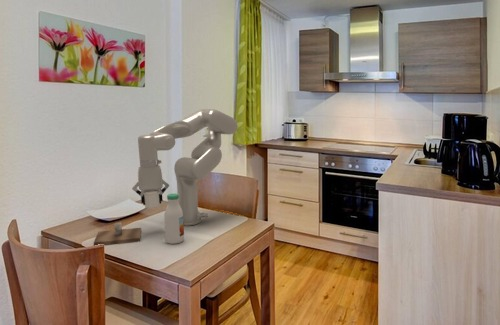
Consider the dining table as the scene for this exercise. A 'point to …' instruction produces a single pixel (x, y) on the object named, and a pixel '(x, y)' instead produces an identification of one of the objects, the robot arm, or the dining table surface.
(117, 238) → the post base
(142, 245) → the dining table surface
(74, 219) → the dining table surface
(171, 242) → the milk bottle
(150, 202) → the pale grey short cylinder
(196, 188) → the robot arm
